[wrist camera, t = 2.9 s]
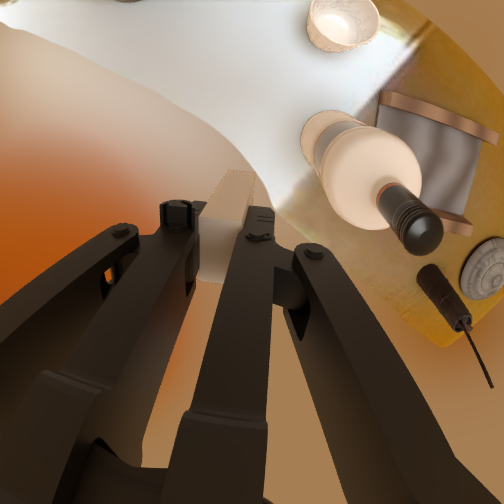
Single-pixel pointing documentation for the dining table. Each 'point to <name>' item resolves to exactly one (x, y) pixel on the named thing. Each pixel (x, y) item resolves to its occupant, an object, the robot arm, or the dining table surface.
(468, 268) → the flying saucer
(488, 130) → the u rest
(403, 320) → the dining table surface
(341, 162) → the vodka
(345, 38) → the white cup
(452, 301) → the butter churn
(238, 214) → the robot arm
